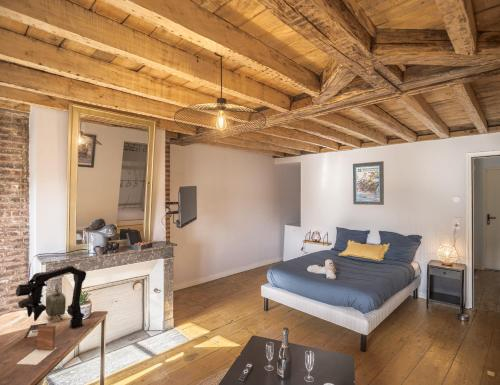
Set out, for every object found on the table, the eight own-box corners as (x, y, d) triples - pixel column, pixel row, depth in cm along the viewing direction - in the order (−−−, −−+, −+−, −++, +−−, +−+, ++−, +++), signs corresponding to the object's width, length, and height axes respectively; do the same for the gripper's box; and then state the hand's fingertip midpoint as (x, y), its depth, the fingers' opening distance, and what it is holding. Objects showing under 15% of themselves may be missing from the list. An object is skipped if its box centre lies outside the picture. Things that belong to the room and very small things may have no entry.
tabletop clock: (64, 320, 208) (66, 286, 208) (50, 324, 201) (51, 289, 201) (58, 314, 217) (60, 281, 218) (44, 317, 211) (46, 284, 211)
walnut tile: (38, 348, 171) (40, 325, 171) (54, 348, 171) (55, 325, 171) (36, 349, 169) (37, 326, 169) (52, 350, 169) (53, 327, 169)
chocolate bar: (46, 323, 201) (41, 334, 186) (46, 324, 201) (41, 336, 186) (30, 325, 197) (24, 337, 181) (30, 326, 197) (24, 338, 181)
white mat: (38, 347, 172) (38, 347, 172) (57, 348, 172) (57, 347, 172) (16, 364, 155) (16, 363, 155) (36, 365, 155) (36, 364, 155)
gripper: (15, 292, 178) (10, 317, 177) (27, 299, 168) (22, 326, 166) (35, 289, 187) (31, 313, 186) (48, 296, 177) (44, 321, 176)
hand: (32, 318), depth 178 cm, fingers open, 9 cm apart
